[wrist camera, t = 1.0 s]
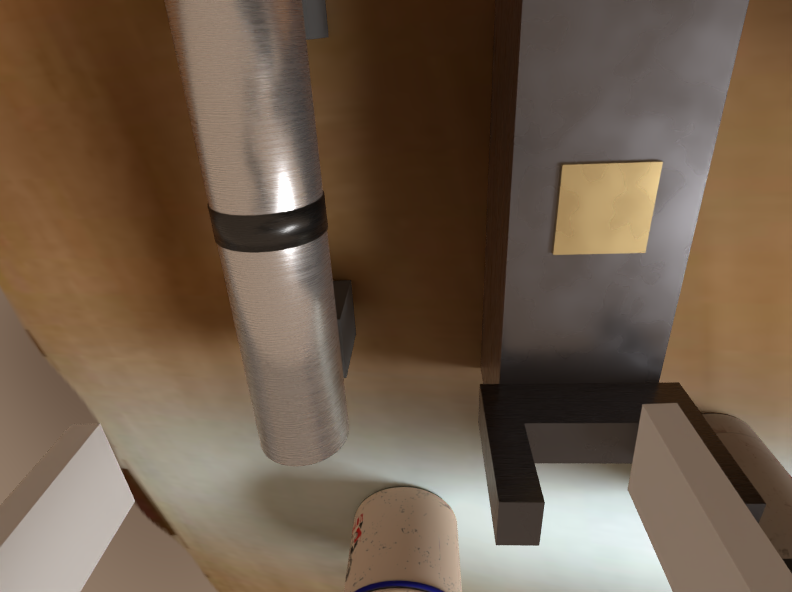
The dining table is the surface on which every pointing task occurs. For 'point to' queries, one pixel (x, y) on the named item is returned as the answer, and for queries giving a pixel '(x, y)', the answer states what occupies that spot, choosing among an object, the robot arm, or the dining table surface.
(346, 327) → the posts
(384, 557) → the teacup with lid
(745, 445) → the thermos bottle
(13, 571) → the robot arm
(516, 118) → the grey cradle stand
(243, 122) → the tube
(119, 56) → the dining table surface
